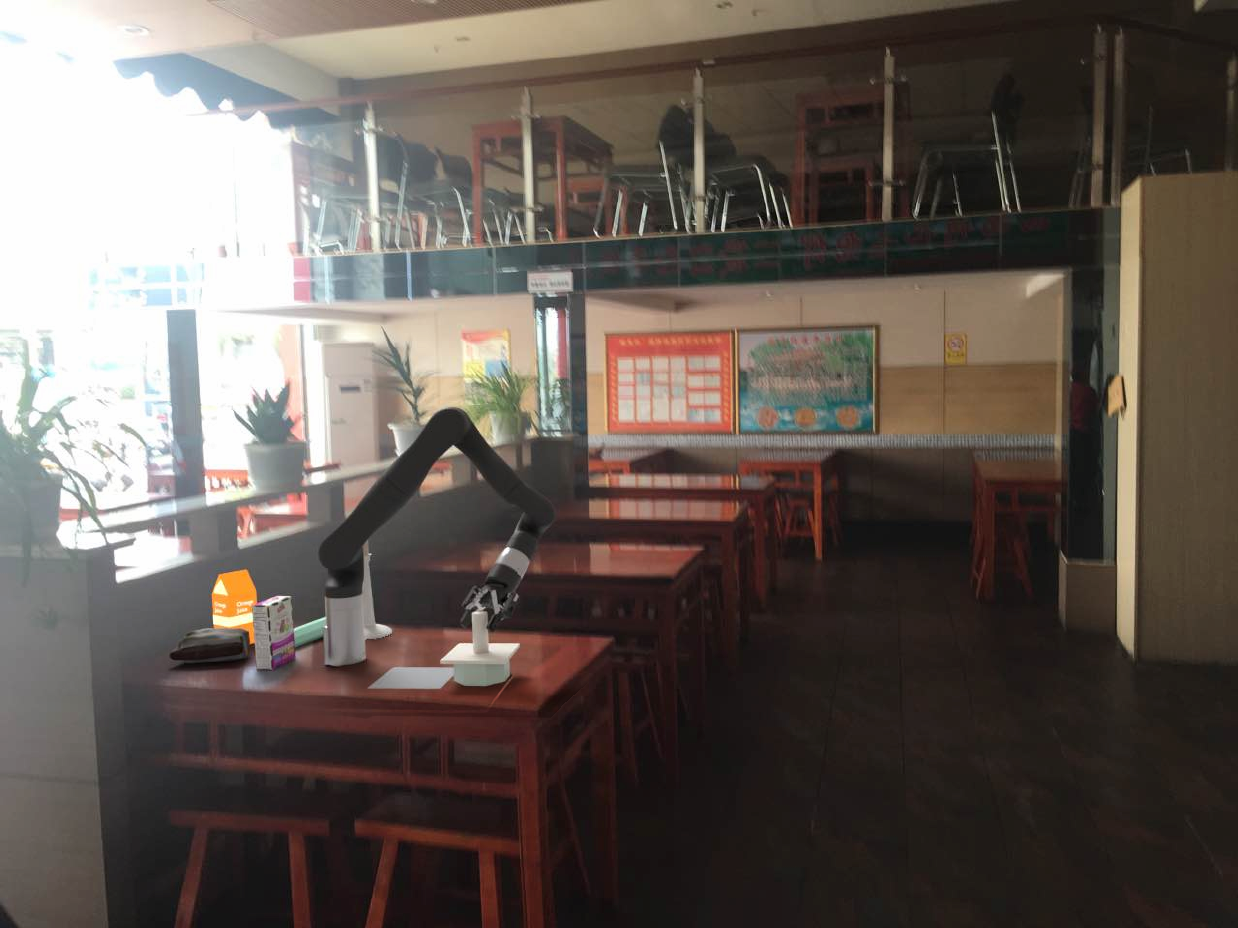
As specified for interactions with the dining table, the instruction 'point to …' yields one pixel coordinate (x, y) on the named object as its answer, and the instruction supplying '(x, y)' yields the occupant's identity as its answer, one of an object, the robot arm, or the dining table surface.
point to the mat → (414, 678)
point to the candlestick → (370, 604)
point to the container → (309, 632)
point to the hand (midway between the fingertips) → (475, 628)
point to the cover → (480, 646)
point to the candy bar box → (273, 632)
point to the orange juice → (234, 601)
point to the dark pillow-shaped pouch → (212, 645)
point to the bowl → (481, 674)
